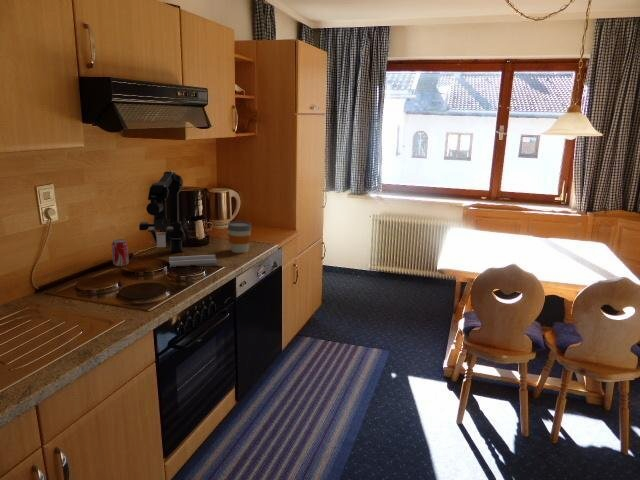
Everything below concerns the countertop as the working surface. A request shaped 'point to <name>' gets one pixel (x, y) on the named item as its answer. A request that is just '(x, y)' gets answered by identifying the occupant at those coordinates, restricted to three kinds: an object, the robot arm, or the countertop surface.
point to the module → (161, 239)
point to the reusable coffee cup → (239, 236)
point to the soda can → (120, 252)
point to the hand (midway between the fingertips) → (161, 243)
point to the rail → (193, 260)
